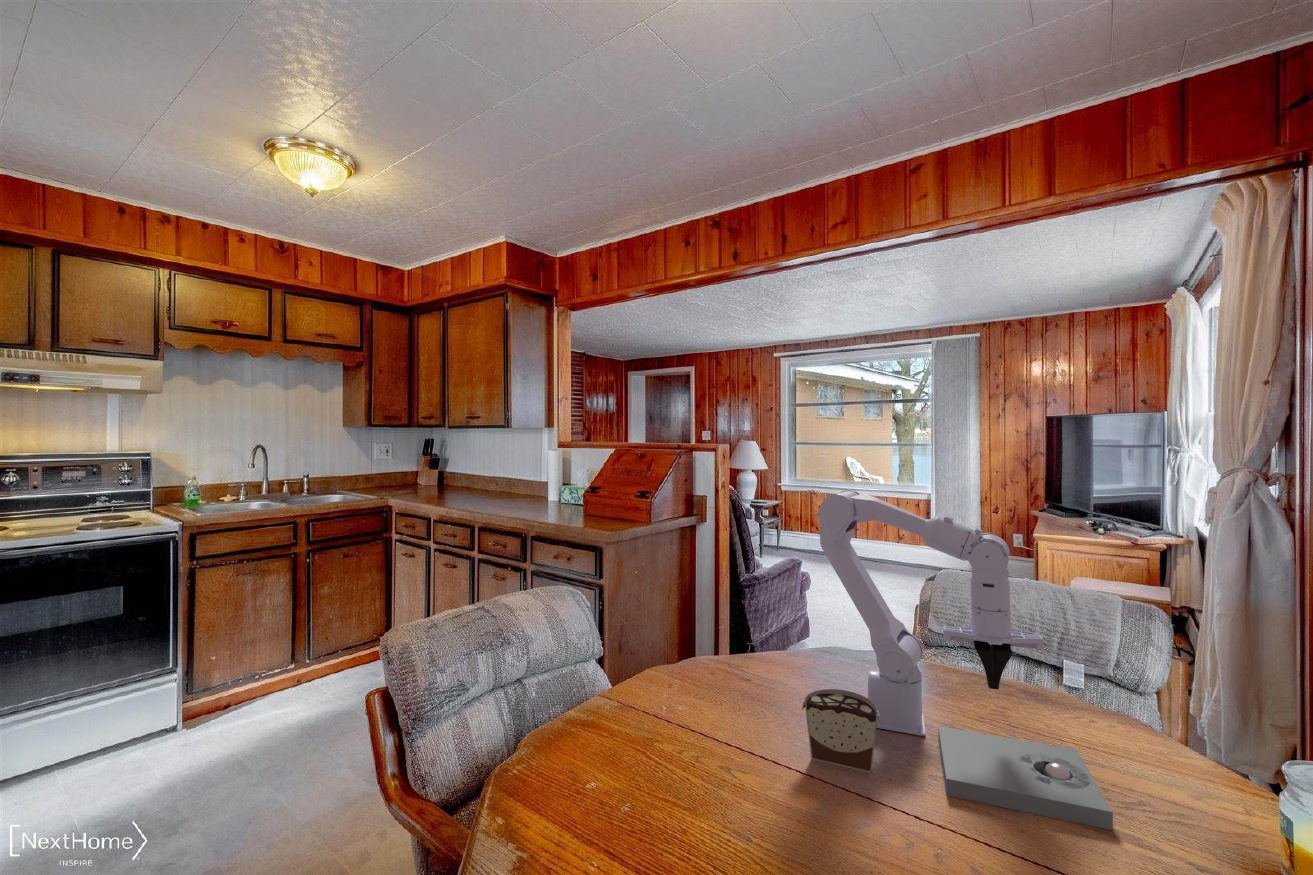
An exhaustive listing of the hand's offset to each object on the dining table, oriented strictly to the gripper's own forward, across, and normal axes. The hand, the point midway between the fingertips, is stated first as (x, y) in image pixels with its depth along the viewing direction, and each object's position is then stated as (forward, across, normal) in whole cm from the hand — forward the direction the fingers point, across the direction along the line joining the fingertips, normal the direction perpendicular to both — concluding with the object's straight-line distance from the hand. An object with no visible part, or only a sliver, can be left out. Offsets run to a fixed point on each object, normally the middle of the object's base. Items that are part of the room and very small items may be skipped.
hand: (992, 686), depth 96 cm
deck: (+10, +1, -9) cm, 14 cm away
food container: (+10, -24, -12) cm, 28 cm away
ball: (+9, +7, -9) cm, 14 cm away
